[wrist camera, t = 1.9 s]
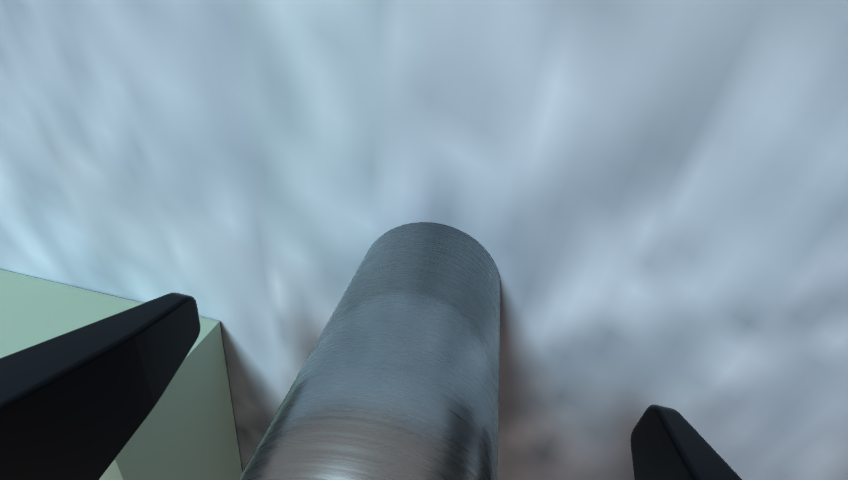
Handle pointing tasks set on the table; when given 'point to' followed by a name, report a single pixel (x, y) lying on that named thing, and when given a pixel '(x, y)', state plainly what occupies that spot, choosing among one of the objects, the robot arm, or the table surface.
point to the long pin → (398, 371)
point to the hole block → (176, 409)
